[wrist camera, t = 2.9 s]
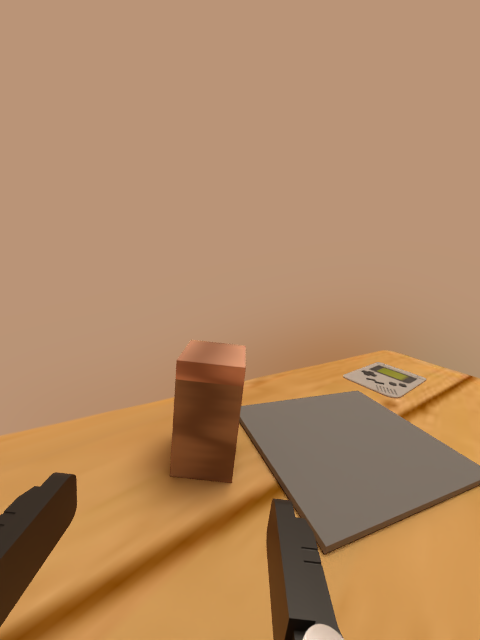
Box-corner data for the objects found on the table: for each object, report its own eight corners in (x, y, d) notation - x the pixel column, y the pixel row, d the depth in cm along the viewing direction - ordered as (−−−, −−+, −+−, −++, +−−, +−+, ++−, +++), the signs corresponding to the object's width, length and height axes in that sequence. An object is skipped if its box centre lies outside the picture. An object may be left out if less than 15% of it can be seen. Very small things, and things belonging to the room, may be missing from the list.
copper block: (234, 440, 26) (245, 345, 23) (231, 483, 21) (245, 367, 19) (184, 435, 26) (191, 339, 23) (169, 476, 21) (176, 360, 19)
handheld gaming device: (341, 374, 44) (378, 360, 54) (340, 378, 45) (378, 364, 54) (396, 398, 38) (428, 377, 47) (395, 402, 38) (426, 381, 48)
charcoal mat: (357, 394, 38) (358, 390, 38) (491, 479, 24) (493, 474, 24) (233, 411, 30) (233, 407, 30) (324, 554, 16) (326, 546, 16)
